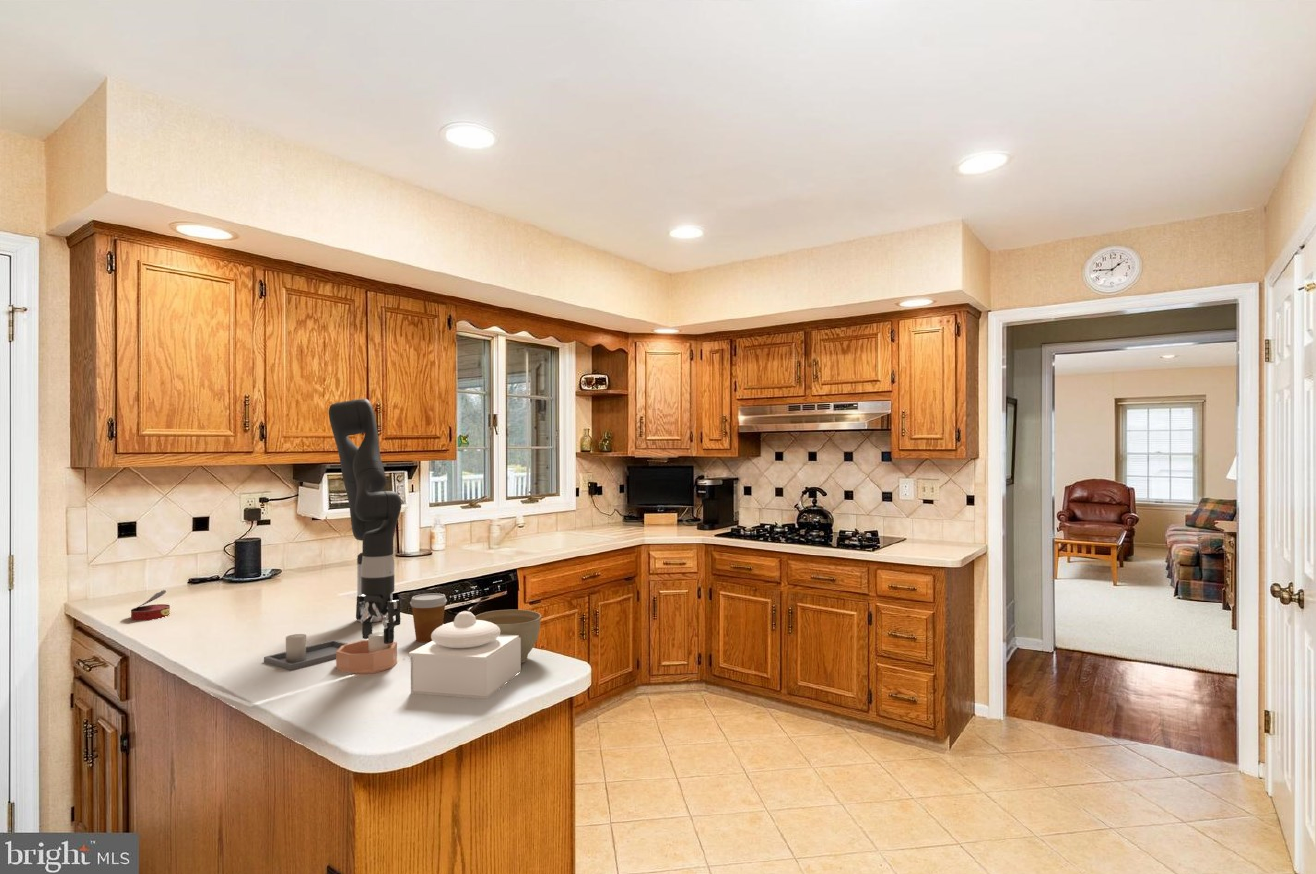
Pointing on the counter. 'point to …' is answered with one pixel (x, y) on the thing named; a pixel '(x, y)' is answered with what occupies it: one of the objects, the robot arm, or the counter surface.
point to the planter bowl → (516, 626)
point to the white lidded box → (465, 659)
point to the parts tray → (307, 655)
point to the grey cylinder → (295, 648)
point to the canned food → (151, 610)
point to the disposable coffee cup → (427, 614)
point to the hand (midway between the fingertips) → (377, 640)
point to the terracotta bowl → (365, 658)
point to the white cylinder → (376, 642)
